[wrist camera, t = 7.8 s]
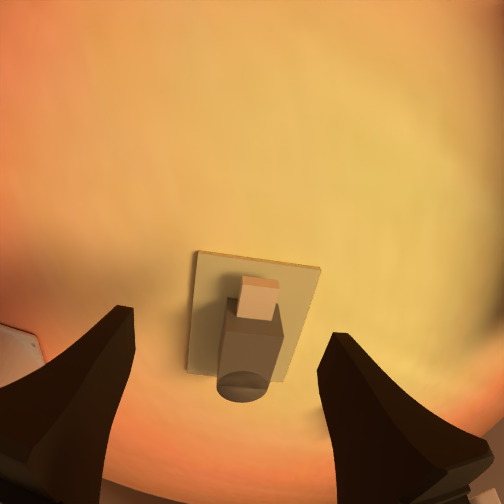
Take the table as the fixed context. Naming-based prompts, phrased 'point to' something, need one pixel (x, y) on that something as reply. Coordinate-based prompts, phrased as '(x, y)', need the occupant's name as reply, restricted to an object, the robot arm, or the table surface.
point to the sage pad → (228, 285)
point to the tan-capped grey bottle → (249, 341)
